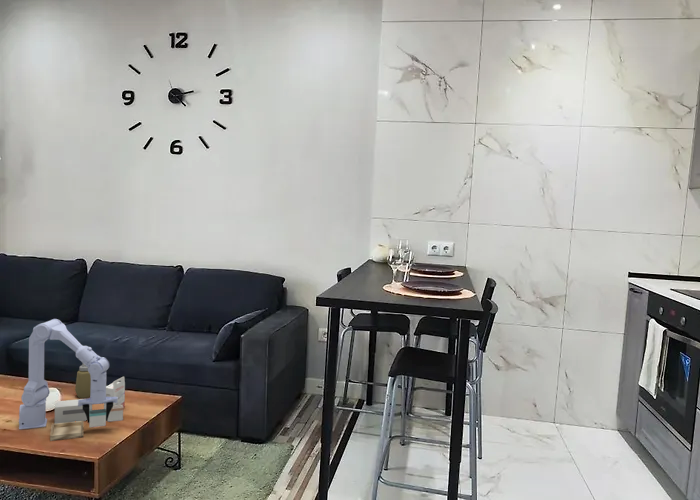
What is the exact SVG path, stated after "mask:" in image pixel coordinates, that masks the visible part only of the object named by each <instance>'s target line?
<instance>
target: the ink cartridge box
mask: <svg viewBox="0 0 700 500" xmlns="http://www.w3.org/2000/svg"><path fill="white" fill-rule="evenodd" d="M125 380H126V379H125V376H122V377H120V378H118V379H116V380H114V381H113V382H112V383H110V384H109V385H106V397H117V398H118V403H115V402H114V403H113V405H121V404H123V409H124V408H125V403H126V402H125V401H126V400H125V399H126V398H125V397H126V395H125V394H126V393H125V392H126V390H125V389H126V382H125ZM103 409H106V403H103Z"/></svg>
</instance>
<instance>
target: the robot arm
mask: <svg viewBox="0 0 700 500" xmlns="http://www.w3.org/2000/svg"><path fill="white" fill-rule="evenodd" d="M48 340H50V341H51V340H52V341H55V340H57V341H58V340H59V341H61V342H62V343H63V344H65V345H66V346H67V347H69V348H70V349H71V350H72V351H73V352H75V357H76V359H78V360H79V361H80V362H81V363H82V364H83V363H84V364H85V365H86V366H87V367H88V372H89V373H90V375H91V393H90V397H87V398H82V399H83V400H78V406H82V405H83V411H84V412H85V414H86V417H87V424H89V421H90V420H89V405H92V406H93V405H101V404H102V405H104V403H106V422H108V416H109V413H110V411H111V409H112V407H113V403H114V402H115V403H118V398H117V397H106V386H107V370H108V369H109V368H110V361H109V360H108V359H107V357H103V356H100V355H99V354H97V353H96V352H95V351H94V350H93V348H92V347H91V346H88V345H83V344H81V342H80V341H78V339H77V338H76V337H75V336H74V335H73V334H72V333H71V332H70V331H69V330H68V329H67V326H66V325H65V323H63V322H62V321H61V320H60V319H57V318H53V319H50V320H47V321H45V322H42V323H39V324H37V325H35V326H33V329H32V332H31V334H30V336H29V337H28V381H27V383H26V385H24V387H23V392H22V394H21V403H23V404H20V405H19V412H18V423H19V424H18V430H28V429H37V428H45V427H46V426H47V423H48V418H46V416H47V415H46V414H47V413H46V411H47V410H46V408H47V407H46V405H47V398H48V397H49V395H50V387H49V385H48V381H47V380H46V379H45V342H47V341H48Z"/></svg>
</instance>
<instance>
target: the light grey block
mask: <svg viewBox="0 0 700 500" xmlns="http://www.w3.org/2000/svg"><path fill="white" fill-rule="evenodd" d="M119 421H124V408H123V404H121V405H113V407H112V409H111V411H110V413H109V416H108V421H107V423H108V422H119Z"/></svg>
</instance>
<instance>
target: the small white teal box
mask: <svg viewBox="0 0 700 500" xmlns="http://www.w3.org/2000/svg"><path fill="white" fill-rule="evenodd" d="M89 420H90V421H89V423H88V424H89V428H96V427H97V428H98V427H105V426H106V425H107V421H106V409H104V408H101V409H92V410H89Z"/></svg>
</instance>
